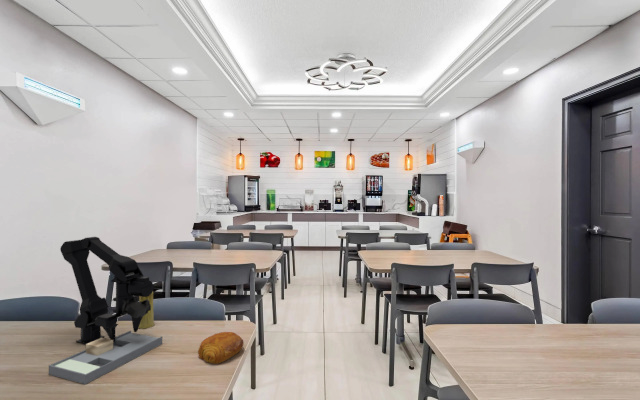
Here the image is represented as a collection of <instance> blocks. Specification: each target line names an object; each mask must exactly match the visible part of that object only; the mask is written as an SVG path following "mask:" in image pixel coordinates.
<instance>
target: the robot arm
mask: <svg viewBox="0 0 640 400" xmlns="http://www.w3.org/2000/svg"><path fill="white" fill-rule="evenodd" d="M59 250H60V252H61V255H62V257H63V259H64V261H66V262H67V263H68V264H70V266H71V268H72V271H73V274H74V278H75V282H76V285H77V287H78V291H79V294H80V298H81V303H80V306H79V316H78V317H77V318H76V319H75V320H74V321H73V322H74V328H77V329H80V339H77V340H76V341H75V342H76V343H79V344H82V345H83V344H84V345H86V344H88V343H90V342H92V341H95V340H97V339H100V338H105V336H103V335H102V329H103V330H104V331H105V333H106V335H107V336H108V339H111V340H113V342H115V337H116V328H117V326H118V325H119V323H118V321H119V320H118V319H120V318H123V317H126V316H130V317H131V322H132V329H133V333H137V332H138V330H139V329H140V328H139V325H140V322H141V320H142V318H143V316H144V315H145V314H147V313H148V312H147V311H150V310H151V305H150V301H149V300H144V301H140V302H139V300H138V297H139V296H142V297H148V296H150V295H151V293H152V292H153V293H154V286H155V285H154V283H153V281H151V280H150V277H149V276H145V277H144V274H143V271H142V270H141V269H140V267H139V265H138V262H137V261H136V260H135V259H133V258H131V257H129V256H126V255H121V254H120V253H118V252H117V251H115V250H114V249H113V248H111V247H110V246H108V245H107V244H105V243H104V242H103V241H102V240H101V239H100V237H98V236H91V237H89V236H87V237H84V238H82V239H77V240H76V239H75V240H69V241H68V240H66V241H64V242H63V243H62V245H61V246H60V249H59ZM90 252H91V253H92V254H94V255H95V256H96V257H97V258H99V259H100V260H101V261H103V262H104V263H105V264H107V266H108V270H109V271H110V273H111V274H112V275H113V276H114V278H112V279H111V280H110V281H111V282H112V283H115V297H113V298H112V301H113V302H115V308H113V310H112V312H113V313H114V314H111V313H109V304H108V302H107V298H106V297H100V296H99V295H98V291H97V289H96V285H95V283H94V279H93V276H92V272H91V268H90V266H89V262H88V260H89V259H88V258H89V256H90Z"/></svg>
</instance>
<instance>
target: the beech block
mask: <svg viewBox="0 0 640 400" xmlns="http://www.w3.org/2000/svg"><path fill="white" fill-rule="evenodd" d="M111 349H113V340H111V339H110V338H105V337H104V338H100V339H97V340H95V341H92V342H90V343H88V344H85V350H86V353H88V354H92V355H97V356H98V355H100V354H103V353H105V352H107V351H109V350H111Z"/></svg>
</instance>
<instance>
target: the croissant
mask: <svg viewBox="0 0 640 400" xmlns="http://www.w3.org/2000/svg"><path fill="white" fill-rule="evenodd" d="M244 343H245V342H244V339H243V338H242V336H240V335H239V334H237V332H236V333H235V332H233V331H222V332H217V333H215V334H213V335H212V334H211V335H210V336H208V337H206V338H205V339H203V340H202V341H201V343H200V344H199V348H198V350H197V354H198V358H199V359H201V360H203V361H205V362H206V363H209V364H213V365H216V364H217V365H218V364H222V363H224V362H226V361H228V360H229V359H231V358H232V357H234V356H235V355H238V353H239V352H240V351H241V350H242V348H243V346H244Z"/></svg>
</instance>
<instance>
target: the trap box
mask: <svg viewBox="0 0 640 400" xmlns="http://www.w3.org/2000/svg"><path fill="white" fill-rule="evenodd" d="M161 345H163V336H160V337H156V336H150V335H146V334H141V333H137V332H132V330H129V331H127V332H124V333H121V334H119V335H117V336H115V342H113V349H111V350H109V351H107V352H105V353H103V354H100V355H98V356H97V355H92V354H88V353H86V349H84V350H82V351H80V352H77V353H75V354H73V355H71V356H68V357H65V358H63V359H61V360H58V361H56V362H54V363H52V364H49V365H48V375H50V376H53V377H57V378H60V379H64V380H68V381H71V382H75V383H78V384H82V385H88V384H89V383H91V382H94V381H95V380H96V379H99V378H100V377H103V376H105V375H106V374H108V373H110V372H112V371H113V370H116V369H117V368H120V367H121V366H123V365H125V364H127V363H128V362H130V361H133V360H135V359H136V358H138V357H140V356H143V355H144V354H146V353H148V352H150V351H151V350H153V349H155V348H157V347H159V346H161Z"/></svg>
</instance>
